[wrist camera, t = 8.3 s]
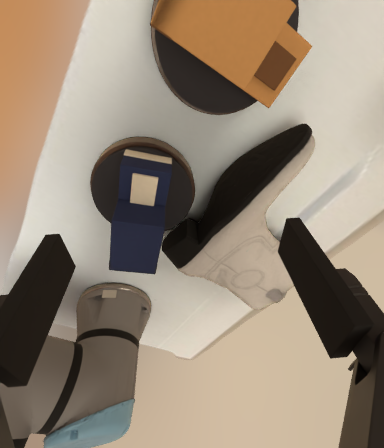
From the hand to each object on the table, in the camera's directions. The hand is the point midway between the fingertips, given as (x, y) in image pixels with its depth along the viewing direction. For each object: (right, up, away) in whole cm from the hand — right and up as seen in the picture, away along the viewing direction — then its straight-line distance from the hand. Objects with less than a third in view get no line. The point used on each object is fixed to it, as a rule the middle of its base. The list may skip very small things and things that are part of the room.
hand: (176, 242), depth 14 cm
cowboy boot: (+13, +1, +27) cm, 30 cm away
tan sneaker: (+4, +19, +9) cm, 22 cm away
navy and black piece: (-6, +5, +19) cm, 21 cm away
